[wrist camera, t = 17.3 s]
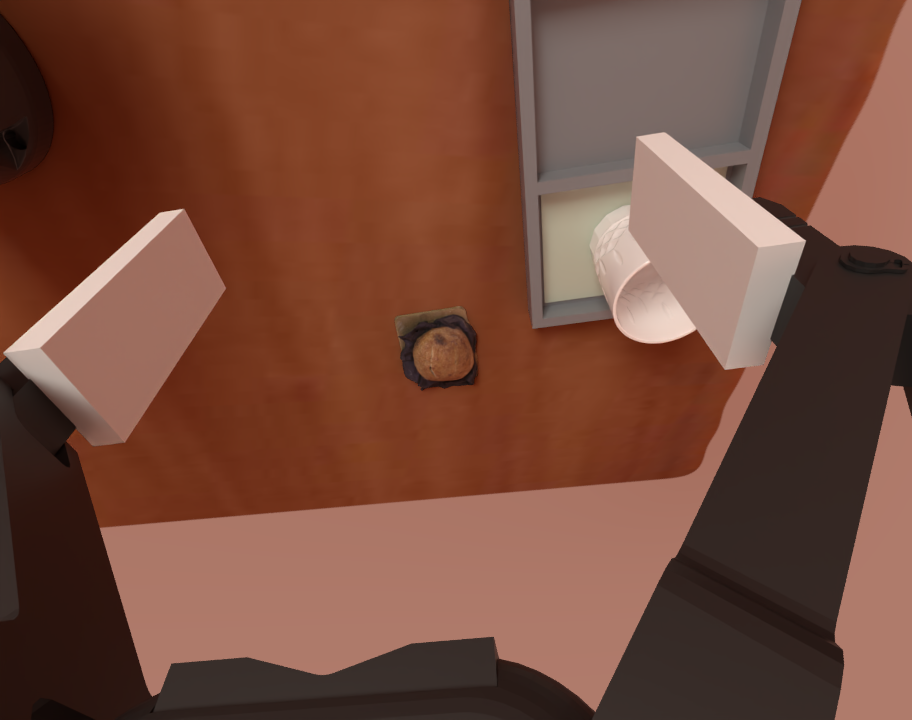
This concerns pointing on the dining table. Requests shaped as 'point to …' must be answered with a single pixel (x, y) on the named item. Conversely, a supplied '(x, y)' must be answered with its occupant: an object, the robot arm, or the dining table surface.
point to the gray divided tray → (629, 116)
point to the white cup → (634, 284)
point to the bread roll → (438, 348)
